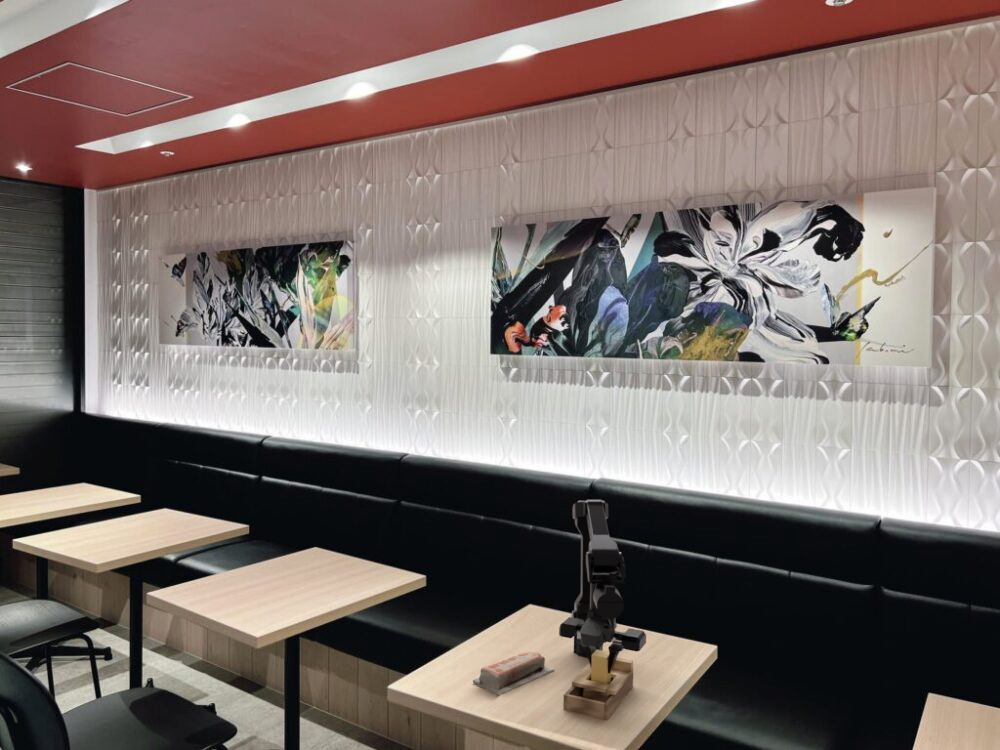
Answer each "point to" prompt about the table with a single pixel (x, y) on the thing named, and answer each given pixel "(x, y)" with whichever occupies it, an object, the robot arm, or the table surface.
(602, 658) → the yellow rectangular block
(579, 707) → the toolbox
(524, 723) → the table surface
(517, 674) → the packaged product
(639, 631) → the robot arm
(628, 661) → the lid
